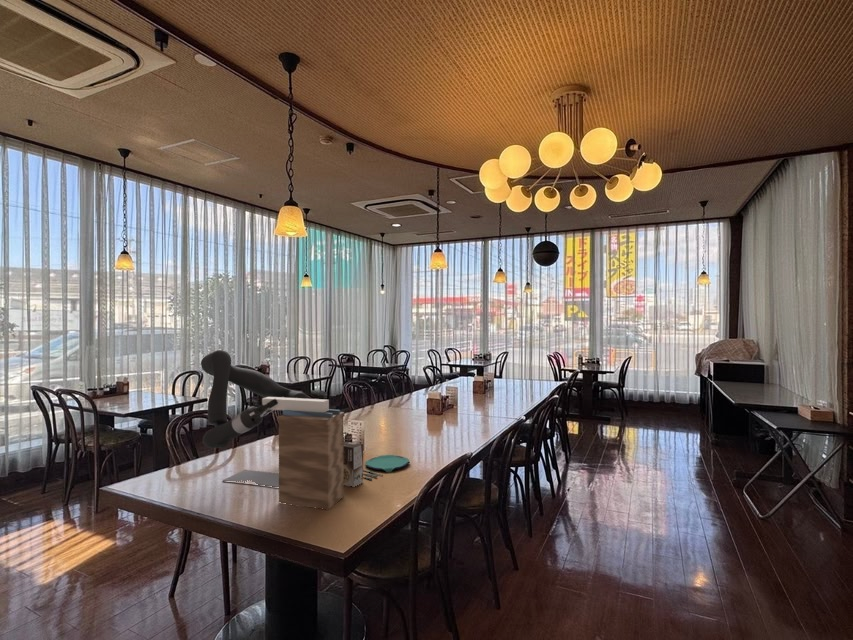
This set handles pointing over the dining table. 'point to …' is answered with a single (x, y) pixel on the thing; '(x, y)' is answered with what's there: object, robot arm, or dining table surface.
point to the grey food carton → (352, 464)
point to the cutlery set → (385, 464)
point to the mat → (256, 477)
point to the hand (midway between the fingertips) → (280, 399)
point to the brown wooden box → (311, 458)
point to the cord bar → (298, 404)
